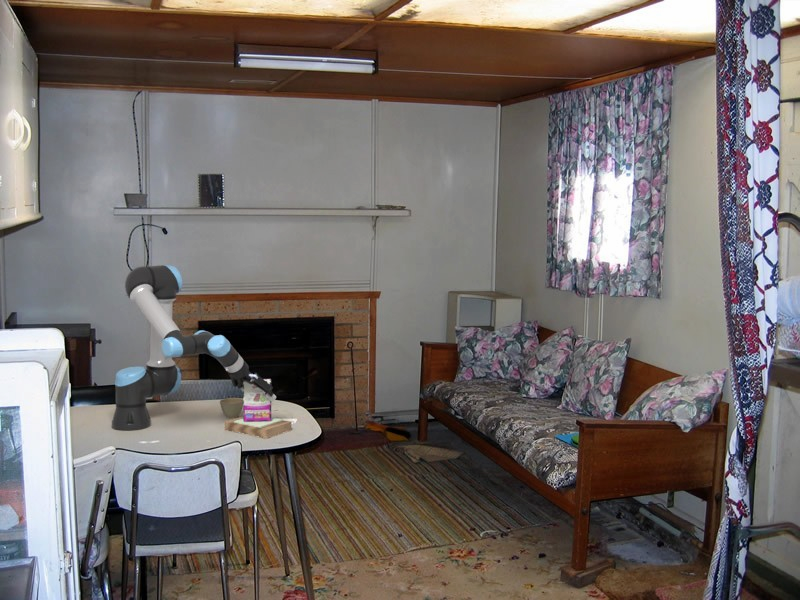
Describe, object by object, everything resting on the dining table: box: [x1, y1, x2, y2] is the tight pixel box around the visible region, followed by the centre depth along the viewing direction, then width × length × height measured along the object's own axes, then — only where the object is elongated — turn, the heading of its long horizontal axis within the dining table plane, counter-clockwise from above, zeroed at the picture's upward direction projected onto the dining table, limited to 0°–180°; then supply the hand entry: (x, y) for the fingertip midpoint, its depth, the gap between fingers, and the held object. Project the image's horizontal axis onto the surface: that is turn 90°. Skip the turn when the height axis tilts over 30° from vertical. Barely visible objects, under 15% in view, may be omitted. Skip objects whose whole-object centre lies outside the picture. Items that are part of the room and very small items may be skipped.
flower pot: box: [219, 397, 243, 419], centre depth 360 cm, size 10×10×7 cm
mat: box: [234, 417, 283, 428], centre depth 340 cm, size 14×13×1 cm
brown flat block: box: [224, 415, 292, 439], centre depth 341 cm, size 22×15×4 cm
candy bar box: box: [242, 378, 272, 422], centre depth 340 cm, size 11×5×16 cm, turn 98°
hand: (262, 397), depth 342 cm, fingers open, 12 cm apart
